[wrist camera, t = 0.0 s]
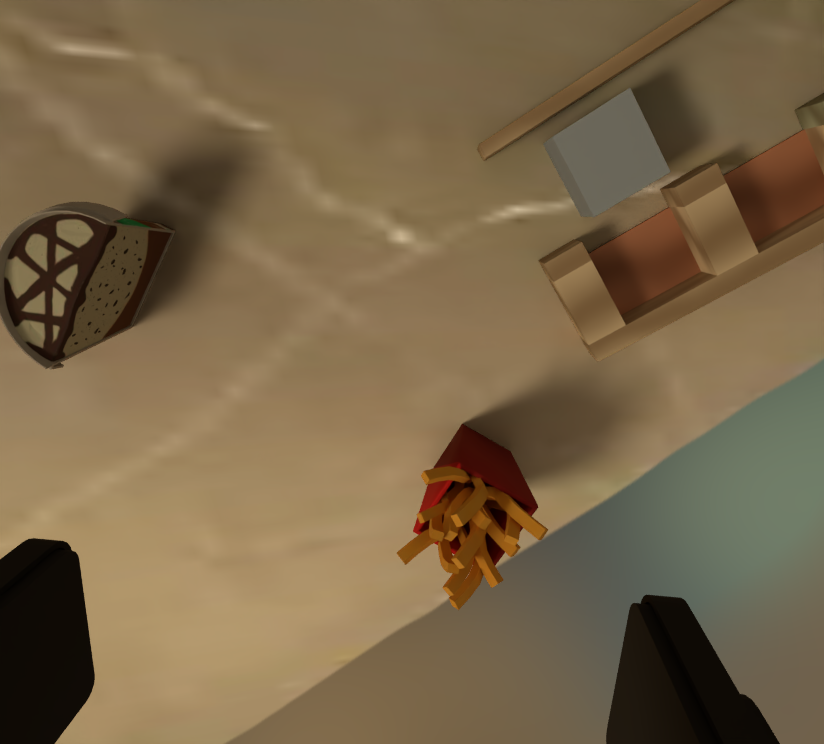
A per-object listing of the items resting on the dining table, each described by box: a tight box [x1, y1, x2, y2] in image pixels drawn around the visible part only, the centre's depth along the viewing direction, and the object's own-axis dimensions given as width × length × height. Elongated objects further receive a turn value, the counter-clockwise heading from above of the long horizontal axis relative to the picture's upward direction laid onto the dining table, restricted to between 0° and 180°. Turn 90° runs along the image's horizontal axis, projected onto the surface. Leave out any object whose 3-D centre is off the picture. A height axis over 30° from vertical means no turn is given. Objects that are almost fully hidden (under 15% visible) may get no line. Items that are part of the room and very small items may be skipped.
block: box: [543, 88, 670, 217], centre depth 39 cm, size 6×6×4 cm
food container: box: [0, 202, 176, 369], centre depth 42 cm, size 12×6×10 cm, turn 149°
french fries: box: [397, 424, 548, 610], centre depth 42 cm, size 9×8×15 cm
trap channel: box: [477, 0, 824, 362], centre depth 39 cm, size 18×26×4 cm
